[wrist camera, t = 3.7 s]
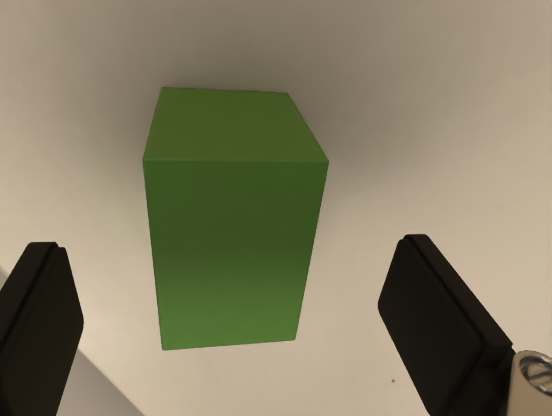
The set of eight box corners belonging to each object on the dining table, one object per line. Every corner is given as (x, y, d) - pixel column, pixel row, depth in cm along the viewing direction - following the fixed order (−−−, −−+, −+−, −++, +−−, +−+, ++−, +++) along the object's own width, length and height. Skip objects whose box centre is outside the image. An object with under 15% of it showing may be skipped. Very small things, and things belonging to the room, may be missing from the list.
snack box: (171, 245, 17) (161, 351, 13) (160, 86, 13) (141, 158, 9) (271, 242, 18) (295, 340, 13) (288, 92, 14) (330, 160, 10)
